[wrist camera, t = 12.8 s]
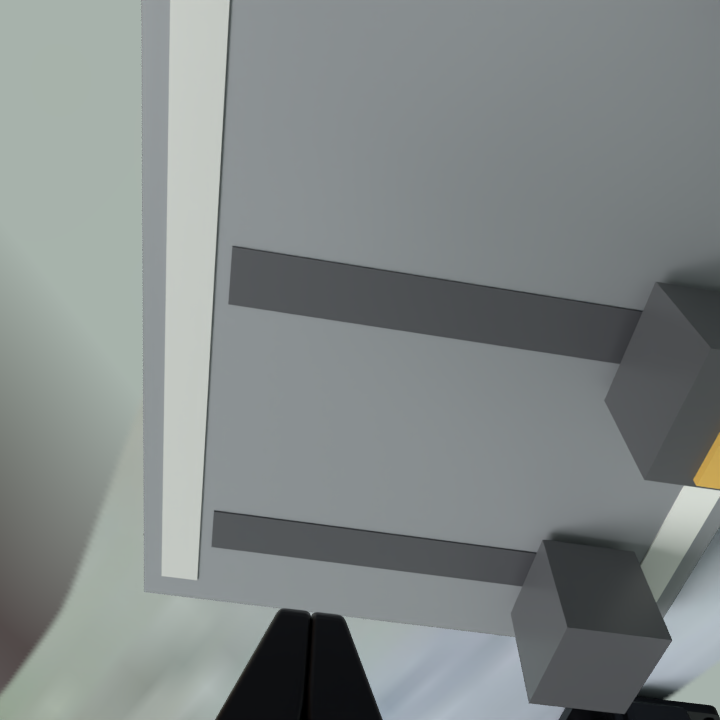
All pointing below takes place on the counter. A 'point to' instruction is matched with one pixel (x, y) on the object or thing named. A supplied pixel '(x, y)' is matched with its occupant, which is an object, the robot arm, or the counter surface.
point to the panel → (424, 313)
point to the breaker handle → (672, 388)
